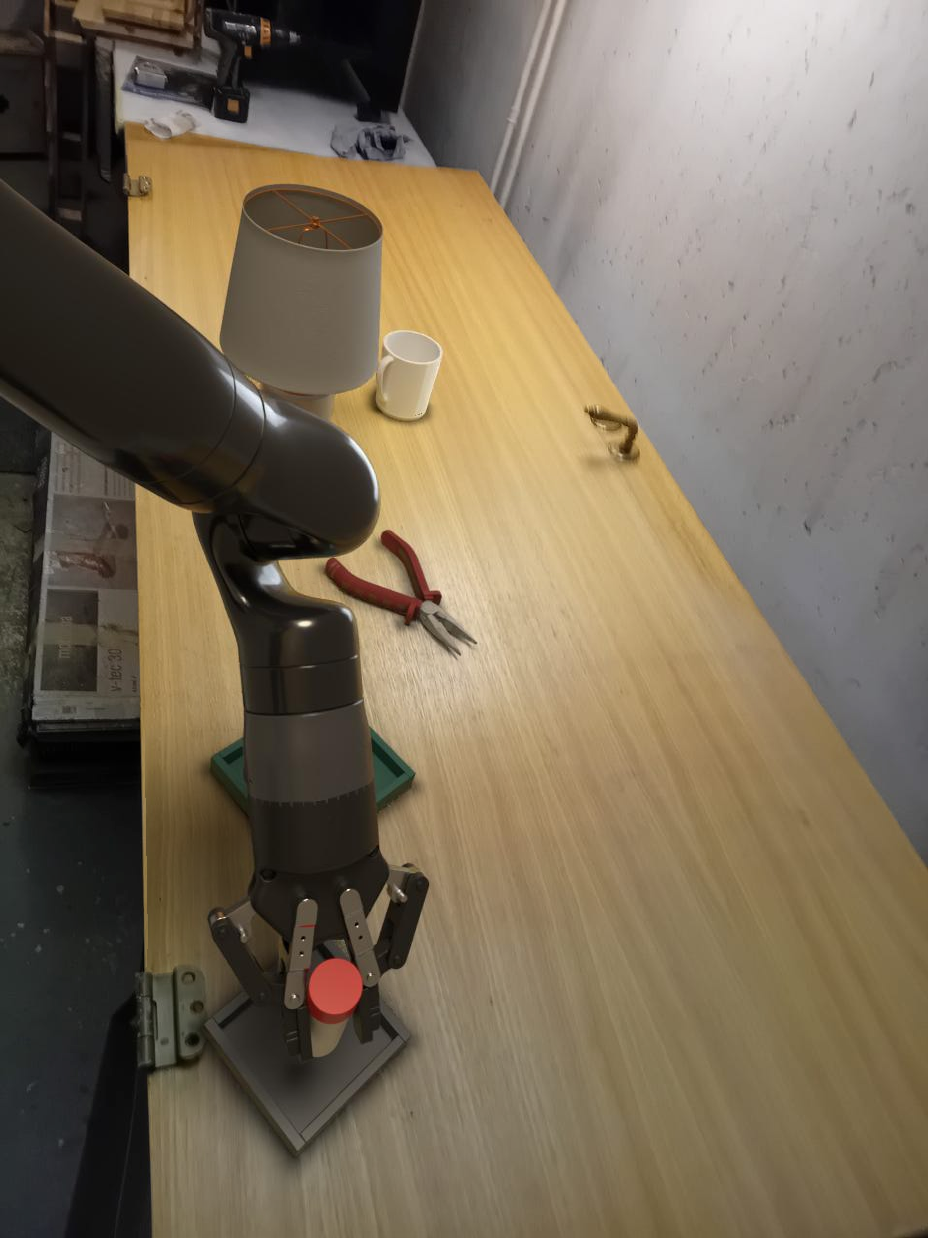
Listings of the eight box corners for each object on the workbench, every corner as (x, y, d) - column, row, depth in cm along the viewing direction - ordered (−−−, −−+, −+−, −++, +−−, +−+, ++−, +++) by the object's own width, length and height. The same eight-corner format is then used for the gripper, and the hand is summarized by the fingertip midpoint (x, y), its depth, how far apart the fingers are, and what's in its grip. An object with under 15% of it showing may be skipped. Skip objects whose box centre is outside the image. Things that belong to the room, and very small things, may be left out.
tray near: (294, 1158, 61) (297, 1152, 59) (203, 1033, 65) (203, 1024, 63) (406, 1043, 68) (412, 1035, 66) (317, 937, 72) (320, 926, 70)
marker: (314, 1070, 54) (332, 1027, 47) (284, 1031, 55) (297, 983, 48) (351, 1034, 56) (374, 988, 49) (321, 998, 57) (339, 946, 50)
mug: (402, 382, 132) (414, 324, 124) (440, 413, 129) (455, 355, 121) (350, 401, 125) (360, 340, 118) (389, 433, 122) (401, 373, 115)
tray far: (297, 873, 75) (300, 861, 73) (210, 770, 80) (210, 756, 78) (411, 786, 84) (416, 773, 82) (326, 698, 89) (329, 684, 87)
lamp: (301, 408, 121) (328, 168, 97) (385, 482, 115) (436, 244, 90) (188, 445, 110) (185, 184, 85) (273, 529, 103) (297, 273, 79)
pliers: (433, 678, 94) (438, 664, 92) (319, 572, 100) (322, 557, 99) (497, 634, 101) (503, 620, 99) (387, 537, 107) (390, 523, 105)
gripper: (194, 818, 43) (225, 1123, 45) (443, 770, 48) (462, 1044, 50) (181, 781, 50) (210, 1047, 51) (401, 743, 55) (419, 984, 57)
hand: (334, 1044), depth 51 cm, fingers closed on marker, 3 cm apart
